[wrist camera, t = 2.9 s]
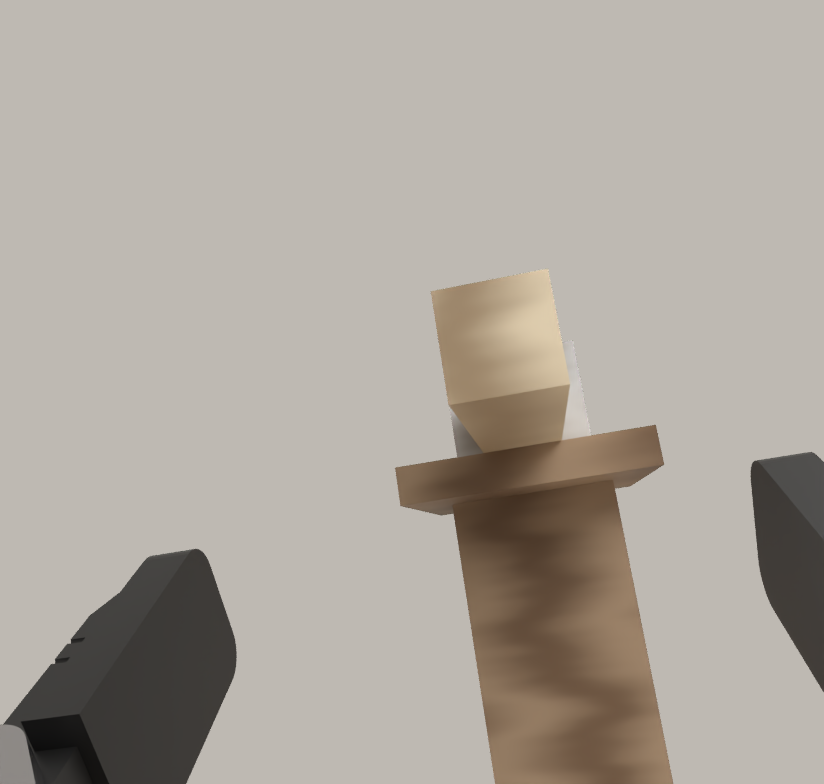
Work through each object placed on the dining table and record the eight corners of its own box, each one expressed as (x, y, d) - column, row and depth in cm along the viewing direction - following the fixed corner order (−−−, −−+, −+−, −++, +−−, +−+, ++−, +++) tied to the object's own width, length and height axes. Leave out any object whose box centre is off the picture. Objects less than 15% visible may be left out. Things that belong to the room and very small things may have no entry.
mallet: (389, 415, 19) (364, 230, 21) (472, 480, 41) (457, 388, 42) (632, 373, 19) (593, 183, 20) (587, 462, 40) (569, 368, 41)
